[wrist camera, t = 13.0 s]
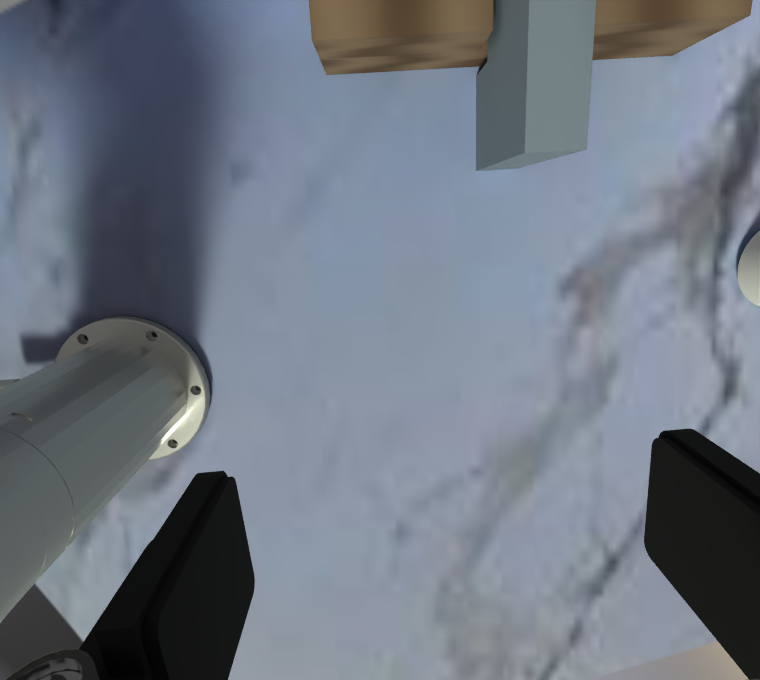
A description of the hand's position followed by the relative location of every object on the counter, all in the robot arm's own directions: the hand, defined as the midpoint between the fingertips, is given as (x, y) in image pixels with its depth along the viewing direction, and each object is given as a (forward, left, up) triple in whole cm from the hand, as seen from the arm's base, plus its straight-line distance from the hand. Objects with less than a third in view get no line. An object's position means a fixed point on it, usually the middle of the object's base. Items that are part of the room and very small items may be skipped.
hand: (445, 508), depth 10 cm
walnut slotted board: (+7, +17, -27) cm, 33 cm away
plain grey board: (+7, +17, -27) cm, 33 cm away
